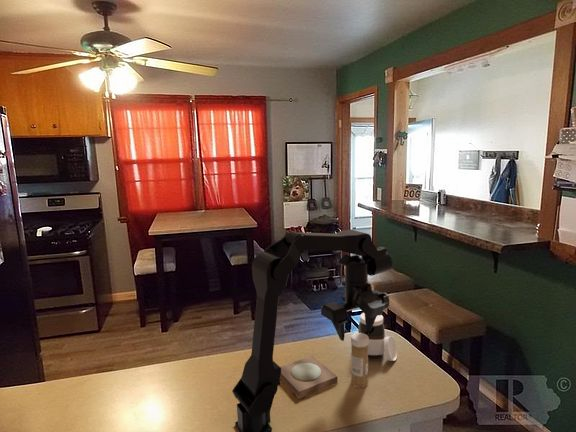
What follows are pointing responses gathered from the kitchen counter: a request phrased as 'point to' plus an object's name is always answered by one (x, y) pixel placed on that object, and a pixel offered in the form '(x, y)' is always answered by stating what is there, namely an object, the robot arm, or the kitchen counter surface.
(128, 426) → the kitchen counter surface
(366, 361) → the sprinkles bottle
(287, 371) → the walnut plinth
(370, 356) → the spread jar
